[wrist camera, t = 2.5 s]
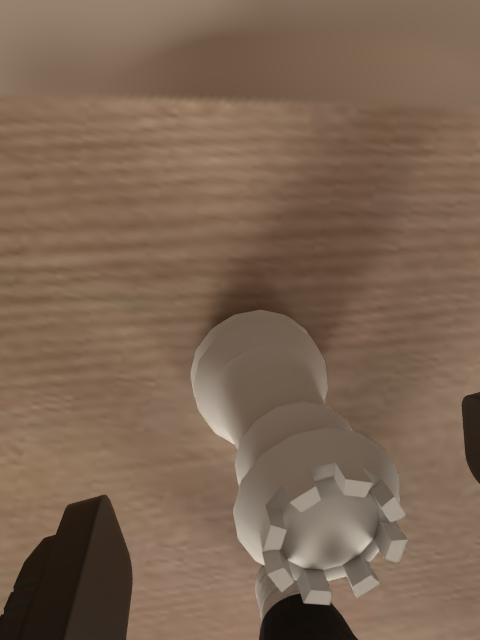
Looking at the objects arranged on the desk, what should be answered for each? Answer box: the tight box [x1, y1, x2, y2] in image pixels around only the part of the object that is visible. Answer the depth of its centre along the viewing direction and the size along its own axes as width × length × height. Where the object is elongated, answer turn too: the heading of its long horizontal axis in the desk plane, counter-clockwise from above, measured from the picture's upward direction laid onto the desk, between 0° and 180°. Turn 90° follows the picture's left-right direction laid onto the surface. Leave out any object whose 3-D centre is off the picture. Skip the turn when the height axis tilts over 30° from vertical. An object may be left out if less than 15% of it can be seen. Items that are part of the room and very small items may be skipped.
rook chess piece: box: [190, 310, 407, 605], centre depth 11 cm, size 4×4×8 cm
